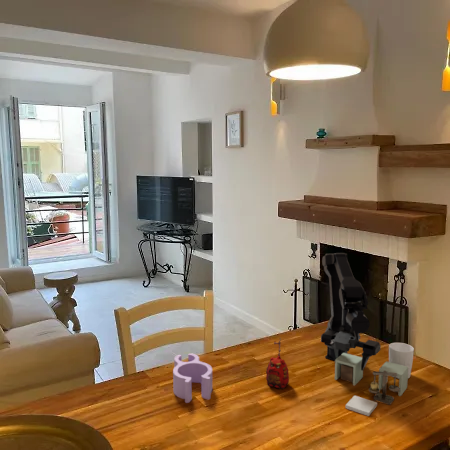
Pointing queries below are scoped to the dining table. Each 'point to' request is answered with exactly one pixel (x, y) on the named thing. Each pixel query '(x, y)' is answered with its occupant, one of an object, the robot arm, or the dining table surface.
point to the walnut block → (347, 373)
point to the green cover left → (350, 361)
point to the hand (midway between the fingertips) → (349, 366)
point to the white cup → (401, 355)
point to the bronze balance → (383, 388)
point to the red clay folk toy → (277, 371)
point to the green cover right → (401, 373)
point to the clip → (191, 377)
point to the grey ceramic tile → (361, 405)
